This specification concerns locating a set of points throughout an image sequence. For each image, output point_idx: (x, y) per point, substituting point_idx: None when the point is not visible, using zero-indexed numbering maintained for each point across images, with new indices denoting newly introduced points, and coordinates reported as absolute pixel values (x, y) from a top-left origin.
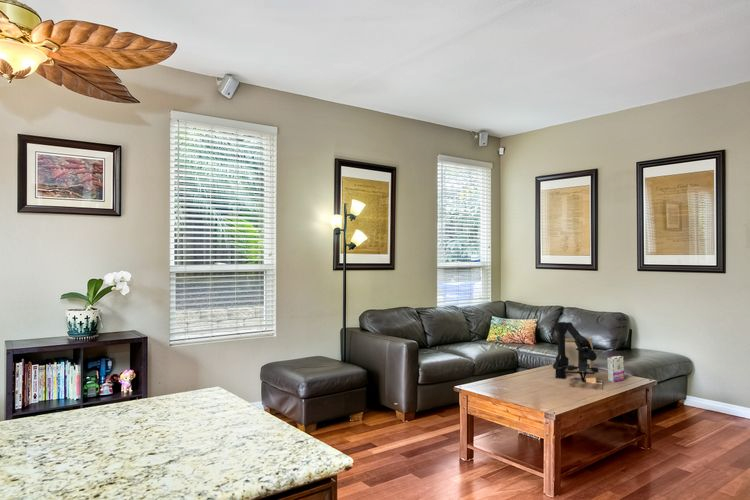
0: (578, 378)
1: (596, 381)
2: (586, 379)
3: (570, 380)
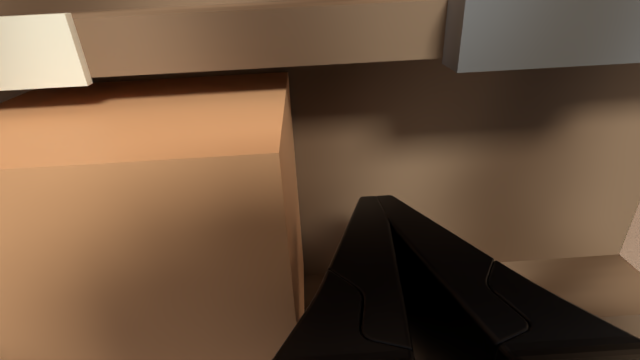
0: None
1: None
2: (265, 127)
3: (630, 279)
